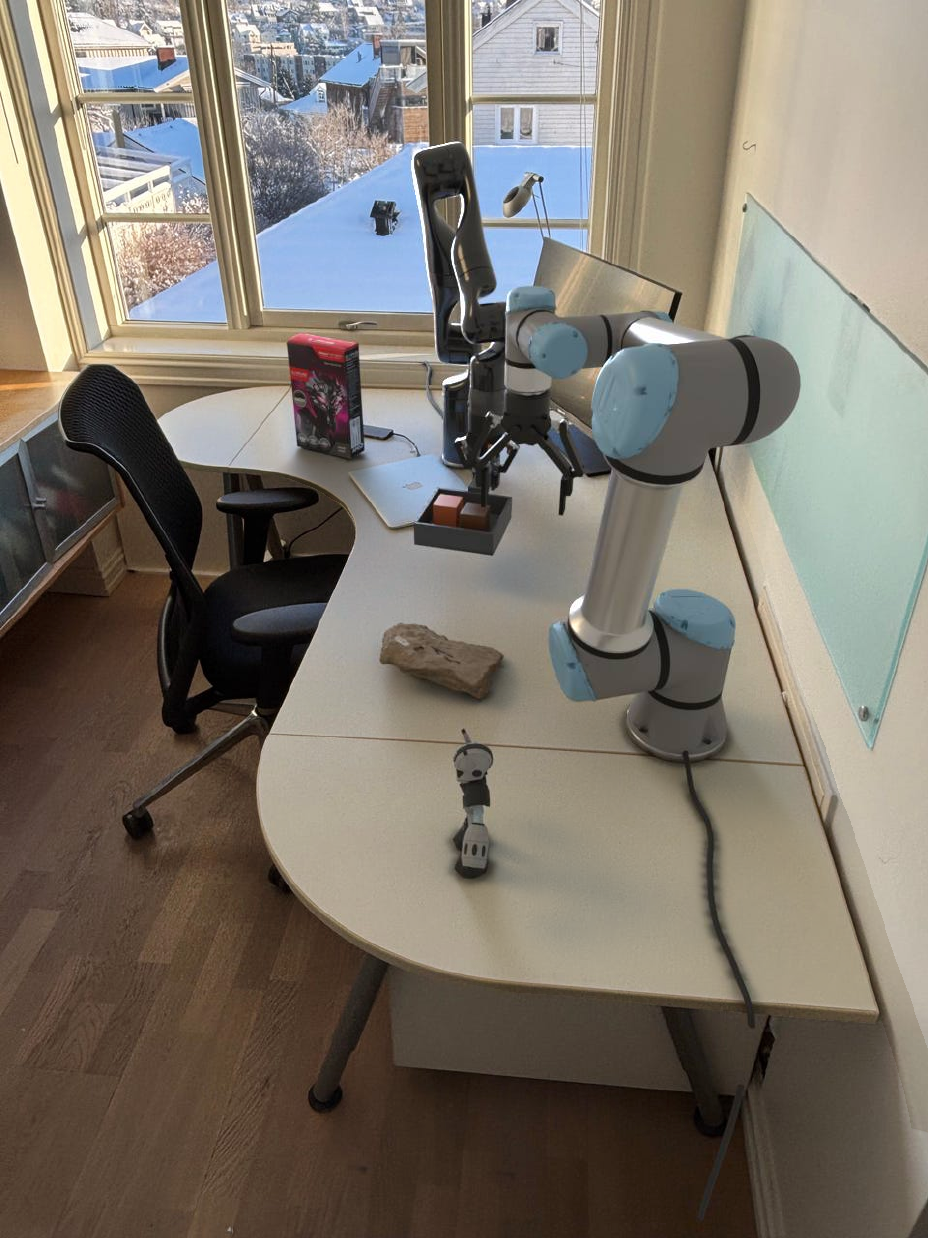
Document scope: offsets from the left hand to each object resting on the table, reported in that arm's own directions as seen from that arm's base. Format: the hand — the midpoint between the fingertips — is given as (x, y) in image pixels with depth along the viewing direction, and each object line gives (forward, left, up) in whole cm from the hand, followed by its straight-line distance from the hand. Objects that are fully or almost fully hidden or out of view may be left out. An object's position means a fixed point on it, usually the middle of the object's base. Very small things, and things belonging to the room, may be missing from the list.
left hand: (485, 487), depth 189 cm
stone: (+49, -6, -11) cm, 50 cm away
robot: (+89, +2, -11) cm, 89 cm away
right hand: (+28, +7, +10) cm, 31 cm away
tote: (+11, -2, -1) cm, 11 cm away
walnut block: (+20, -1, -1) cm, 20 cm away
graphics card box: (-41, -40, -11) cm, 59 cm away
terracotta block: (+17, -6, -1) cm, 18 cm away
